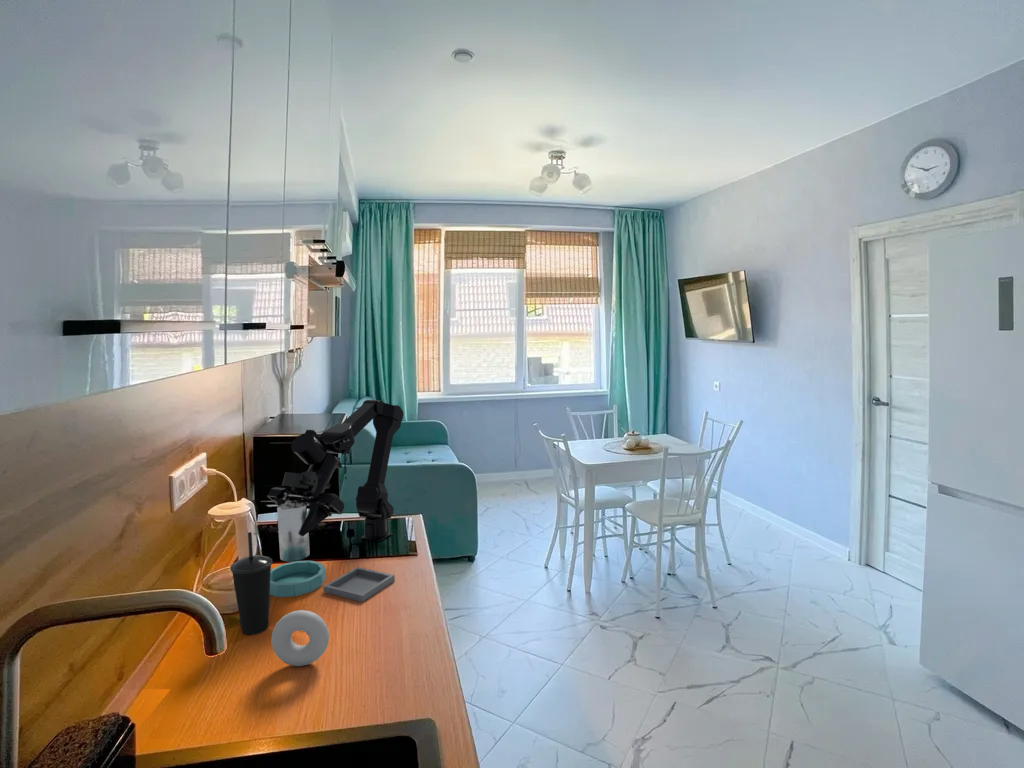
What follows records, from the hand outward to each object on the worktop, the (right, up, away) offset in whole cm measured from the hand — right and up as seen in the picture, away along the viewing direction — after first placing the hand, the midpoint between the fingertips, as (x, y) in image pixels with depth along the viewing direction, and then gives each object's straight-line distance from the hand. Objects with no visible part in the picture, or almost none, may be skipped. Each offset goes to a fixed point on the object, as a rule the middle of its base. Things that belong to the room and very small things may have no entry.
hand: (289, 533), depth 127 cm
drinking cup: (-1, -15, -16) cm, 22 cm away
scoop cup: (+1, -6, +2) cm, 6 cm away
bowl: (0, -13, +3) cm, 13 cm away
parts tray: (+16, -13, +1) cm, 21 cm away
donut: (+14, -16, -28) cm, 35 cm away
